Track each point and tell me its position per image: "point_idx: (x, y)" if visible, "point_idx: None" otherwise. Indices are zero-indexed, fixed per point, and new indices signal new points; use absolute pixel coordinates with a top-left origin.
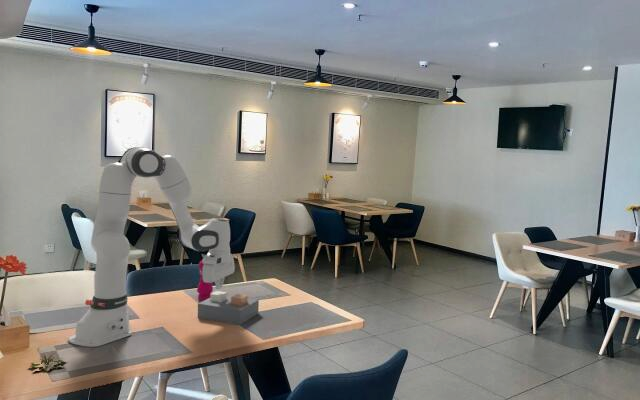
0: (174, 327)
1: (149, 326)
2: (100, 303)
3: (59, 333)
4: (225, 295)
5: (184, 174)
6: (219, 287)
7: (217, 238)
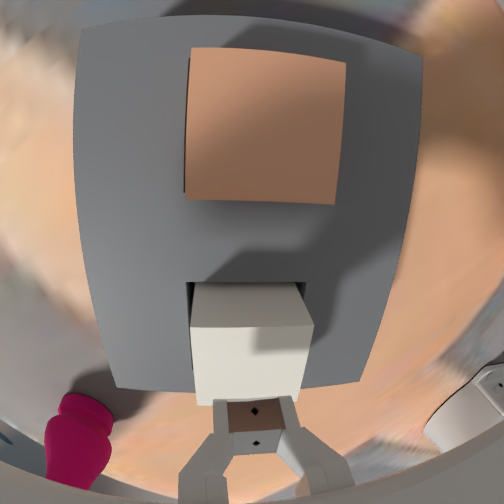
0: (446, 327)
1: (435, 383)
2: None
3: None
4: (218, 312)
5: None
6: (293, 404)
7: None
